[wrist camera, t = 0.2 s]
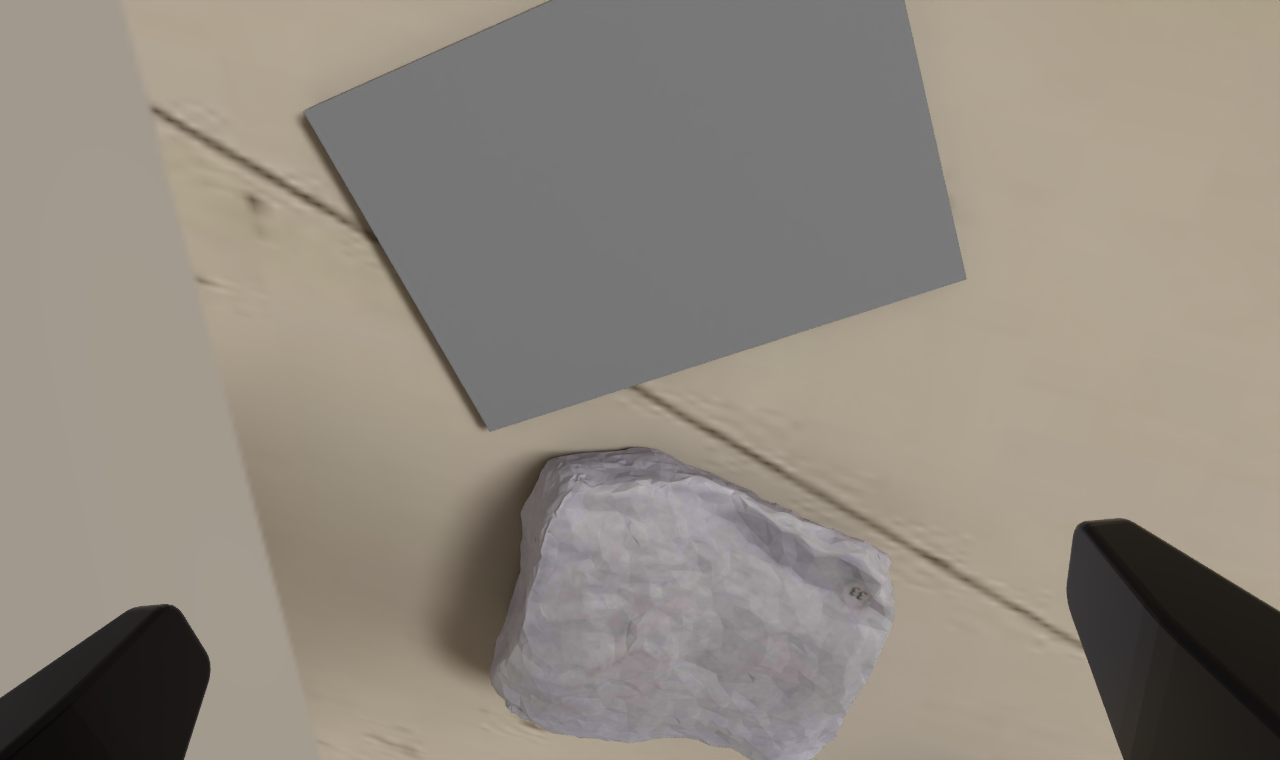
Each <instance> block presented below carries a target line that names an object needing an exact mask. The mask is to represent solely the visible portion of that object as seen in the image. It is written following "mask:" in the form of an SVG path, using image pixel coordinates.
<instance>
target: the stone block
mask: <svg viewBox="0 0 1280 760" xmlns="http://www.w3.org/2000/svg"><path fill="white" fill-rule="evenodd" d="M520 514H521V520H522V540H521V543H520V551H521V559H520V568H521V570H520V574H519V576H518V579H517V582H516V585H515V590H514V593H513V596H512V599H511V602H510V605H509V609H508V613H507V616H506V619H505V622H504V625H503V628H502V630H501V632H500V633H499V635H498V637H497V639H496V645H495V651H494V657H493V662H492V664H491V669H490V678H491V684H492V686H493V687H494V689H495V690H496V692H497V693H498V695H500V696H501V697H502V698H503V699H504V700H505V703H506V707H507V708H508V709H509V711H510V712H511V713H515V714H517V715H518V716H519V717H520V718H521V719H526V720H529V721H530V722H532V723H536V724H538V725H539V726H541V727H542V728H544V729H545V730H547V731H549V732H552V733H554V734H562V735H570V736H576V737H578V738H595V739H601V740H605V741H618V742H624V743H633V742H642V741H647V740H651V739H659V738H689V739H695V740H699V741H701V742H703V743H705V744H708V745H711V746H717V747H725V748H731V749H733V750H735V751H737V752H739V753H741V754H742V755H744V756H745V757H747V758H749V759H750V760H810V759H811V758H813V757H814V756H815V755H816V754H817V753H818V752H819V751H820V750H821V749H822V748H823V747H824V746H825V745H826V744H827V743H829V742H831V741H832V740H833V739H834V738H835V737H836V732H837V731H838V729H839V728H840V727H841V725H842V720H843V718H844V716H845V715H846V713H847V711H848V709H849V707H850V706H851V704H852V703H853V702H854V700H855V699H856V697H857V695H858V693H859V691H860V690H861V688H862V687H863V685H864V683H865V682H866V680H867V679H868V678H869V676H870V674H871V672H872V670H873V667H874V665H875V663H876V661H877V659H878V657H879V654H880V652H881V650H882V647H883V645H884V643H885V641H886V639H887V637H888V635H889V633H890V631H891V626H892V622H893V618H894V613H895V603H894V593H893V585H892V583H891V581H890V579H889V573H888V571H889V567H890V564H891V559H890V557H889V556H888V555H887V554H886V553H884V552H883V551H881V550H880V549H878V548H876V547H874V546H872V545H870V544H869V543H868V542H866V541H865V540H861V539H856V538H852V537H848V536H846V535H844V534H842V533H840V532H838V531H836V530H834V529H828V528H824V527H822V526H820V525H819V524H817V523H814V522H812V521H810V520H807V519H804V518H801V517H799V516H798V515H796V514H795V513H794V512H793V511H791V510H788V509H785V508H783V507H781V506H780V505H778V504H776V503H769V502H768V501H765V500H762V499H761V498H760V497H759V496H757V495H756V494H755V493H754V492H752V491H750V490H748V489H745V488H743V487H740V486H738V485H735V484H733V483H731V482H728V481H726V480H724V479H722V478H720V477H718V476H716V475H714V474H712V473H709V472H706V471H703V470H700V469H697V468H694V467H691V466H688V465H685V464H683V463H681V462H680V461H678V460H677V459H675V458H674V457H672V456H671V455H668V454H666V453H664V452H662V451H660V450H657V449H650V448H629V449H626V450H620V451H607V452H591V453H578V454H572V455H566V456H560V457H556V458H553V459H551V460H548V461H547V463H546V465H545V466H544V468H543V469H542V471H541V473H540V476H539V479H538V481H537V483H536V485H535V486H534V489H533V491H532V493H531V494H530V496H529V497H528V499H527V500H526V502H525V504H524V506H523V508H522V510H521V512H520Z"/></svg>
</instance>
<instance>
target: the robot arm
mask: <svg viewBox="0 0 1280 760" xmlns="http://www.w3.org/2000/svg"><path fill="white" fill-rule="evenodd" d="M1067 600H1068V605H1069V609H1070V612H1071V616H1072V618H1073V621H1074V624H1075V627H1076V629H1077V632H1078V635H1079V638H1080V641H1081V643H1082V646H1083V649H1084V652H1085V654H1086V657H1087V660H1088V663H1089V665H1090V668H1091V671H1092V674H1093V677H1094V679H1095V682H1096V685H1097V688H1098V690H1099V693H1100V696H1101V699H1102V702H1103V704H1104V707H1105V710H1106V713H1107V715H1108V718H1109V721H1110V724H1111V727H1112V729H1113V732H1114V735H1115V738H1116V740H1117V743H1118V746H1119V748H1120V751H1121V753H1122V756H1123V759H1124V760H1280V611H1278V610H1277V609H1275V608H1273V607H1272V606H1270V605H1268V604H1267V603H1265V602H1264V601H1262V600H1260V599H1259V598H1257V597H1255V596H1254V595H1252V594H1250V593H1249V592H1247V591H1245V590H1244V589H1242V588H1241V587H1239V586H1237V585H1236V584H1234V583H1232V582H1231V581H1229V580H1227V579H1226V578H1224V577H1223V576H1221V575H1219V574H1218V573H1216V572H1214V571H1213V570H1211V569H1209V568H1208V567H1206V566H1205V565H1203V564H1201V563H1200V562H1198V561H1196V560H1195V559H1193V558H1191V557H1190V556H1188V555H1187V554H1185V553H1183V552H1182V551H1180V550H1178V549H1177V548H1175V547H1173V546H1172V545H1170V544H1169V543H1167V542H1165V541H1164V540H1162V539H1160V538H1159V537H1157V536H1155V535H1154V534H1152V533H1150V532H1149V531H1147V530H1146V529H1144V528H1142V527H1141V526H1139V525H1137V524H1136V523H1134V522H1132V521H1130V520H1127V519H1122V518H1115V519H1104V520H1093V521H1084V522H1082V523H1080V524H1079V525H1077V527H1076V529H1075V531H1074V534H1073V541H1072V548H1071V556H1070V564H1069V571H1068V579H1067ZM209 678H210V661H209V657H208V655H207V652H206V651H205V649H204V648H203V646H202V644H201V643H200V641H199V639H198V638H197V636H196V635H195V633H194V631H193V630H192V628H191V627H190V625H189V624H188V622H187V620H186V618H185V617H184V615H183V614H182V612H181V611H180V610H179V609H178V608H176V607H174V606H173V605H168V604H161V605H150V606H140V607H135V608H132V609H130V610H128V611H126V612H125V613H123V614H122V615H120V616H119V617H117V618H116V619H114V620H113V621H111V622H110V623H109V624H107V625H106V626H104V627H103V628H101V629H100V630H98V631H97V632H95V633H94V634H93V635H91V636H90V637H88V638H87V639H85V640H84V641H82V642H81V643H80V644H78V645H77V646H75V647H74V648H72V649H71V650H69V651H68V652H66V653H65V654H63V655H62V656H61V657H59V658H58V659H56V660H55V661H53V662H52V663H50V664H49V665H47V666H46V667H45V668H43V669H42V670H40V671H39V672H37V673H36V674H34V675H33V676H32V677H30V678H29V679H27V680H26V681H24V682H23V683H21V684H20V685H18V686H17V687H16V688H14V689H13V690H11V691H10V692H8V693H7V694H5V695H4V696H2V697H1V698H0V760H184V757H185V754H186V751H187V748H188V745H189V742H190V738H191V736H192V732H193V729H194V726H195V723H196V720H197V717H198V714H199V710H200V707H201V704H202V701H203V697H204V694H205V692H206V688H207V685H208V682H209Z"/></svg>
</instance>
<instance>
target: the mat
mask: <svg viewBox="0 0 1280 760" xmlns="http://www.w3.org/2000/svg"><path fill="white" fill-rule="evenodd" d="M303 112H304V114H305V115H306V117H307V119H308V121H309V122H310V124H311V126H312V127H313V129H314V131H315V133H316V134H317V136H318V138H319V139H320V141H321V143H322V145H323V146H324V148H325V150H326V151H327V153H328V155H329V157H330V158H331V160H332V162H333V163H334V165H335V167H336V169H337V170H338V172H339V174H340V175H341V177H342V179H343V181H344V182H345V184H346V186H347V187H348V189H349V191H350V193H351V194H352V196H353V198H354V199H355V201H356V203H357V205H358V206H359V208H360V210H361V211H362V213H363V215H364V217H365V218H366V220H367V222H368V224H369V225H370V227H371V229H372V230H373V232H374V234H375V236H376V237H377V239H378V241H379V242H380V244H381V246H382V248H383V249H384V251H385V253H386V254H387V256H388V258H389V260H390V261H391V263H392V265H393V266H394V268H395V270H396V272H397V273H398V275H399V277H400V278H401V280H402V282H403V284H404V285H405V287H406V289H407V290H408V292H409V294H410V296H411V297H412V299H413V301H414V302H415V304H416V306H417V308H418V309H419V311H420V313H421V314H422V316H423V318H424V320H425V321H426V323H427V325H428V326H429V328H430V330H431V332H432V333H433V335H434V337H435V338H436V340H437V342H438V344H439V345H440V347H441V349H442V350H443V352H444V354H445V356H446V357H447V359H448V361H449V363H450V364H451V366H452V368H453V369H454V371H455V373H456V375H457V376H458V378H459V380H460V381H461V383H462V385H463V387H464V388H465V390H466V392H467V393H468V395H469V397H470V399H471V400H472V402H473V404H474V405H475V407H476V409H477V411H478V412H479V414H480V416H481V417H482V419H483V421H484V423H485V424H486V426H487V428H488V429H489V431H494V430H497V429H500V428H503V427H506V426H509V425H512V424H515V423H519V422H522V421H525V420H528V419H531V418H534V417H537V416H540V415H544V414H547V413H550V412H553V411H556V410H559V409H562V408H565V407H569V406H572V405H575V404H578V403H581V402H584V401H587V400H590V399H594V398H597V397H600V396H603V395H606V394H609V393H612V392H615V391H619V390H622V389H625V388H628V387H631V386H634V385H637V384H640V383H643V382H647V381H650V380H653V379H656V378H659V377H662V376H665V375H668V374H672V373H675V372H678V371H681V370H684V369H687V368H690V367H693V366H697V365H700V364H703V363H706V362H709V361H712V360H715V359H718V358H722V357H725V356H728V355H731V354H734V353H737V352H740V351H743V350H747V349H750V348H753V347H756V346H759V345H762V344H765V343H768V342H772V341H775V340H778V339H781V338H784V337H787V336H790V335H793V334H797V333H800V332H803V331H806V330H809V329H812V328H815V327H818V326H822V325H825V324H828V323H831V322H834V321H837V320H840V319H843V318H847V317H850V316H853V315H856V314H859V313H862V312H865V311H868V310H872V309H875V308H878V307H881V306H884V305H887V304H890V303H893V302H897V301H900V300H903V299H906V298H909V297H912V296H915V295H918V294H922V293H925V292H928V291H931V290H934V289H937V288H940V287H943V286H946V285H950V284H953V283H956V282H959V281H962V280H965V279H966V274H965V270H964V265H963V261H962V256H961V252H960V247H959V243H958V239H957V234H956V230H955V225H954V221H953V216H952V212H951V207H950V203H949V198H948V194H947V189H946V185H945V180H944V176H943V171H942V167H941V162H940V158H939V153H938V149H937V144H936V140H935V135H934V131H933V126H932V122H931V117H930V113H929V108H928V104H927V99H926V95H925V91H924V86H923V82H922V77H921V73H920V68H919V64H918V59H917V55H916V50H915V46H914V41H913V37H912V32H911V28H910V23H909V19H908V14H907V10H906V5H905V1H904V0H550V1H548V2H545V3H543V4H541V5H539V6H536V7H534V8H532V9H530V10H527V11H525V12H523V13H521V14H519V15H516V16H514V17H512V18H510V19H507V20H505V21H503V22H501V23H498V24H496V25H494V26H492V27H489V28H487V29H485V30H483V31H480V32H478V33H476V34H474V35H471V36H469V37H467V38H465V39H462V40H460V41H458V42H456V43H453V44H451V45H449V46H447V47H445V48H442V49H440V50H438V51H436V52H433V53H431V54H429V55H427V56H424V57H422V58H420V59H418V60H415V61H413V62H411V63H409V64H406V65H404V66H402V67H400V68H397V69H395V70H393V71H391V72H388V73H386V74H384V75H382V76H379V77H377V78H375V79H373V80H371V81H368V82H366V83H364V84H362V85H359V86H357V87H355V88H353V89H350V90H348V91H346V92H344V93H341V94H339V95H337V96H335V97H332V98H330V99H328V100H326V101H323V102H321V103H319V104H317V105H314V106H312V107H310V108H309V109H307V110H305V111H303Z"/></svg>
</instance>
